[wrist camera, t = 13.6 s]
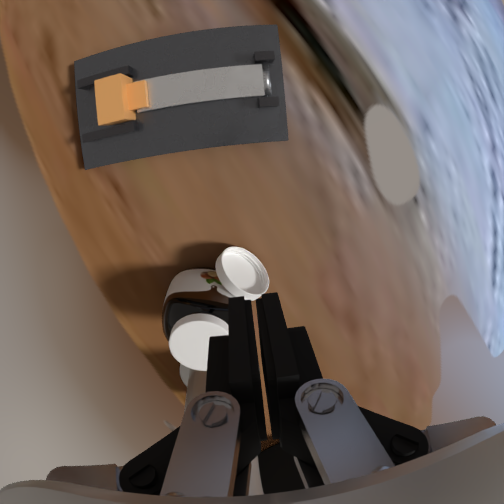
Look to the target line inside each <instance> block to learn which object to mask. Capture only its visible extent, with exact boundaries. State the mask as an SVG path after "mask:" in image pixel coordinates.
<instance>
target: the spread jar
mask: <svg viewBox="0 0 504 504" xmlns="http://www.w3.org/2000/svg"><path fill="white" fill-rule="evenodd" d="M215 268H216V269H214V268H193V269H188V270H185V271H182V272H180V273H179V274H177V275H176V276H175V277H174V278H173V280H172V281H171V283H170V286H169V288H168V291H167V294H166V297H165V300H164V304H163V310H162V326H163V332H164V335H165V337H166V338H167V340H168V341H169V348H170V351H171V353H172V355H173V357H174V358H175V359H176V360H177V361H178V362H179V363H181V364H182V365H184V366H186V367H188V368H191V369H194V370H199V371H207V361H208V347H209V338H210V337H211V336H223V335H228V298H230V297H240V296H244V299H245V300H251V301H252V300H256V299H258V298H259V297H260V296H261V295H262V294H264V293H265V292H266V291H267V289H268V287H269V277H268V274H267V271H266V269H265V267H264V266H263V264H262V263H261V262H260V260H259V259H258V258H257V257H256V256H254V255H253V254H252V253H251V252H249V251H248V250H246V249H244V248H241V247H236V246H233V247H228V248H226V249H225V250H224V251H223V252H222V253H221V254H220V255H219V257H218V258H217V260H216V265H215Z"/></svg>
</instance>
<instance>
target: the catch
mask: <svg viewBox="0 0 504 504" xmlns="http://www.w3.org/2000/svg"><path fill="white" fill-rule="evenodd" d="M94 84H95V97H96V109H97V118H98V126H103V125H115V124H120V123H124V122H128V121H133V120H136V114H135V110H138V109H143V108H148V107H149V100H148V89H147V81H145V80H142V81H138V82H133V81H132V78H130V77H128V76H126V75H123V74H121V73H119V74H116V75H112V76H108V77H105V78H101V79H98V80H95V81H94Z"/></svg>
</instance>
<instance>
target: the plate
mask: <svg viewBox="0 0 504 504" xmlns="http://www.w3.org/2000/svg"><path fill="white" fill-rule="evenodd" d="M256 64H269V71H270V81H271V92H272V95H271V96H258V97H245V98H234V99H224V100H215V101H207V102H199V103H192V104H185V105H179V106H173V107H167V108H161V109H156V110H151V111H146V112H141V113H137V110H135V114H136V120H133V121H128V122H124V123H120V124H115V125H103V126H98V118H97V109H96V97H95V84H94V81H95V80H98V79H101V78H105V77H108V76H112V75H116V74H119V73H121V74H123V75H126V76H128V77H130V78H132V81H133V82H135V81H140V80H144V79H149V78H154V77H159V76H165V75H170V74H176V73H182V72H188V71H195V70H203V69H211V68H219V67H229V66H241V65H256ZM74 66H75V87H76V101H77V113H78V122H79V131H80V139H81V147H82V154H83V160H84V167H85V170H87V169H91V168H96V167H100V166H104V165H109V164H114V163H119V162H124V161H129V160H134V159H139V158H145V157H150V156H156V155H162V154H168V153H174V152H181V151H188V150H195V149H203V148H210V147H219V146H228V145H237V144H248V143H259V142H272V141H287V140H288V129H287V116H286V105H285V94H284V83H283V73H282V63H281V54H280V45H279V36H278V27H277V25H253V26H237V27H226V28H216V29H208V30H200V31H193V32H186V33H180V34H175V35H169V36H164V37H159V38H154V39H150V40H145V41H141V42H137V43H133V44H129V45H125V46H121V47H118V48H114V49H111V50H107V51H104V52H101V53H98V54H95V55H92V56H89V57H86V58H83V59H80V60H77V61H74Z"/></svg>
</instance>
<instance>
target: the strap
mask: <svg viewBox="0 0 504 504" xmlns="http://www.w3.org/2000/svg"><path fill="white" fill-rule="evenodd" d="M144 80H145V81H147V89H148V100H149V107H148V108H143V109H138V110H137V113H141V112H146V111H151V110H156V109H161V108H167V107H173V106H179V105H185V104H192V103H199V102H207V101H215V100H224V99H234V98H245V97H258V96H271V95H272V92H271V81H270V71H269V64H256V65H241V66H229V67H219V68H211V69H203V70H195V71H188V72H182V73H176V74H170V75H165V76H159V77H154V78H149V79H144ZM140 81H142V80H140ZM135 82H138V81H135Z"/></svg>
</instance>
